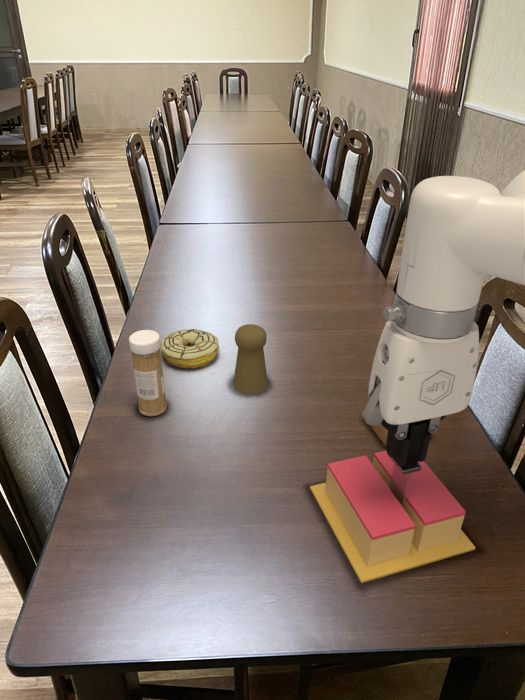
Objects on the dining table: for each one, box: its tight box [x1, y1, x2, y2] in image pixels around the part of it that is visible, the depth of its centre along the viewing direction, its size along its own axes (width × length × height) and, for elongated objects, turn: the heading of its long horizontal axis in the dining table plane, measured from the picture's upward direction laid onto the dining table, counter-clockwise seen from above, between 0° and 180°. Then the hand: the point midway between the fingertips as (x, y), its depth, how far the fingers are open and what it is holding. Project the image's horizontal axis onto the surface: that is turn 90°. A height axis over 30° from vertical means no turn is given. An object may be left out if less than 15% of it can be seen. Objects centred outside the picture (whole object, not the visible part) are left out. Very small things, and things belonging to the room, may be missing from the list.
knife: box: [387, 420, 426, 508], centre depth 62 cm, size 2×4×16 cm, turn 18°
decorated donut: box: [160, 328, 220, 369], centre depth 99 cm, size 10×11×4 cm
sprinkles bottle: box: [128, 329, 168, 417], centre depth 83 cm, size 5×5×14 cm
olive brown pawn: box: [232, 323, 269, 396], centre depth 89 cm, size 6×6×11 cm
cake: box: [309, 450, 476, 584], centre depth 66 cm, size 15×15×5 cm
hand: (405, 455), depth 61 cm, fingers closed on knife, 1 cm apart
